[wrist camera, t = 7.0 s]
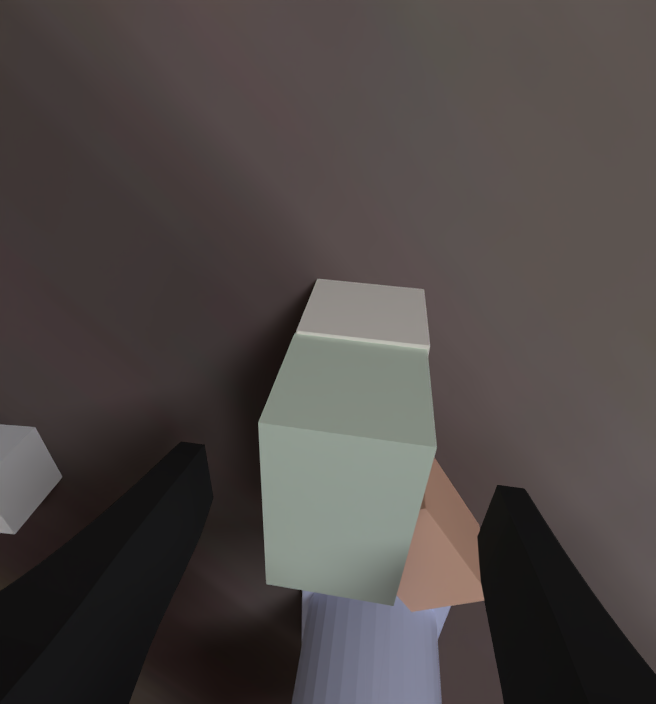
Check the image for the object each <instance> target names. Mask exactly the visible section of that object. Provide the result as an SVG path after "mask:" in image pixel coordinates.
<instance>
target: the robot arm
mask: <svg viewBox="0 0 656 704" xmlns="http://www.w3.org/2000/svg"><path fill="white" fill-rule="evenodd" d="M212 500H213V493H212V487H211V481H210V475H209V469H208V463H207V457H206V451H205V445H202V444H195V443H187V442H180V443H179V444H178V445H177V446H176V447H175V448H173V449H172V450H171V451H170V452H169V453H168V454H167V455H166V456H165V457H164V458H163V459H162V460H161V461H160V462H159V463H158V464H157V465H155V466H154V467H153V468H152V469H151V470H150V471H149V472H148V473H147V474H146V475H145V476H144V477H143V478H141V479H140V480H139V481H138V482H137V483H136V484H135V485H134V486H133V487H132V488H131V489H129V490H128V491H127V492H126V493H125V494H124V495H123V496H122V497H120V498H119V499H118V500H117V501H116V502H115V503H114V504H113V505H111V506H110V507H109V508H108V509H107V510H106V511H105V512H103V513H102V514H101V515H100V516H99V517H97V518H96V519H95V520H94V521H93V522H91V523H90V524H89V525H88V526H87V527H85V528H84V529H83V530H82V531H80V532H79V533H78V534H77V535H76V536H74V537H73V538H72V539H71V540H69V541H68V542H67V543H66V544H64V545H63V546H62V547H61V548H59V549H58V550H57V551H55V552H54V553H53V554H51V555H50V556H49V557H47V558H46V559H45V560H43V561H42V562H41V563H39V564H38V565H37V566H35V567H34V568H33V569H31V570H30V571H28V572H27V573H26V574H24V575H23V576H22V577H20V578H19V579H17V580H16V581H14V582H13V583H11V584H10V585H9V586H7V587H6V588H4V589H3V590H1V591H0V704H129V702H130V699H131V696H132V693H133V691H134V688H135V685H136V682H137V680H138V677H139V674H140V672H141V669H142V666H143V663H144V661H145V658H146V655H147V653H148V650H149V647H150V645H151V643H152V640H153V638H154V636H155V633H156V631H157V629H158V626H159V624H160V622H161V620H162V618H163V616H164V613H165V611H166V609H167V607H168V605H169V603H170V601H171V598H172V596H173V594H174V592H175V590H176V588H177V586H178V584H179V581H180V579H181V577H182V575H183V573H184V571H185V569H186V567H187V564H188V562H189V560H190V558H191V556H192V554H193V551H194V549H195V547H196V545H197V543H198V540H199V538H200V536H201V533H202V530H203V527H204V524H205V521H206V518H207V515H208V512H209V509H210V506H211V503H212ZM477 540H478V554H479V567H480V578H481V585H482V590H483V596H484V601H485V606H486V612H487V617H488V622H489V627H490V632H491V637H492V642H493V647H494V653H495V658H496V663H497V668H498V673H499V678H500V683H501V688H502V695H503V701H504V704H656V674H655V673H654V671H653V670H652V669H651V668H650V667H649V665H648V664H647V663H646V662H645V660H644V659H643V658H642V657H641V655H640V654H639V653H638V652H637V650H636V649H635V648H634V647H633V645H632V644H631V643H630V641H629V640H628V639H627V638H626V636H625V635H624V634H623V632H622V631H621V630H620V628H619V627H618V626H617V624H616V623H615V622H614V620H613V619H612V618H611V616H610V615H609V614H608V612H607V611H606V610H605V608H604V607H603V606H602V604H601V603H600V601H599V600H598V599H597V597H596V596H595V594H594V593H593V592H592V590H591V589H590V587H589V586H588V584H587V583H586V582H585V580H584V579H583V577H582V576H581V574H580V573H579V571H578V570H577V569H576V567H575V566H574V564H573V563H572V561H571V560H570V558H569V557H568V555H567V554H566V552H565V551H564V549H563V548H562V546H561V545H560V543H559V542H558V540H557V539H556V537H555V536H554V534H553V532H552V531H551V529H550V528H549V526H548V525H547V523H546V521H545V520H544V518H543V517H542V515H541V514H540V512H539V510H538V509H537V507H536V506H535V504H534V502H533V501H532V499H531V498H530V496H529V494H528V493H527V491H526V490H525V489H523V488H516V487H509V486H502V485H497V487H496V490H495V493H494V495H493V498H492V500H491V503H490V505H489V508H488V510H487V513H486V516H485V518H484V521H483V523H482V526H481V528H480V531H479V534H478V536H477ZM450 607H451V606H446V607H440V608H434V609H427V610H421V611H415V612H411V611H410V610H409V609H408V607H407V606H406V605H405V604H404V603H403V602H402V601H401V600H400V599H399V597H398V596H396V599H395V603H394V606H390V605H384V604H379V603H373V602H367V601H361V600H356V599H350V598H344V597H338V596H332V595H327V594H321V593H315V592H309V591H304V590H302V647H301V652H300V658H299V664H298V670H297V675H296V681H295V687H294V693H293V699H292V704H442V700H441V685H440V669H439V654H438V638H439V635H440V632H441V630H442V627H443V625H444V622H445V620H446V617H447V615H448V612H449V609H450Z"/></svg>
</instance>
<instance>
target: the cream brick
mask: <svg viewBox="0 0 656 704" xmlns="http://www.w3.org/2000/svg"><path fill="white" fill-rule="evenodd" d="M296 334H303V335H312V336H320V337H328V338H337V339H345V340H353V341H362V342H370V343H379V344H387V345H395V346H404V347H412V348H420V349H427V351H428V353H429V349H430V340H429V331H428V321H427V312H426V303H425V294H424V289H415V288H405V287H395V286H385V285H375V284H365V283H355V282H345V281H336V280H326V279H317V281H316V283H315V286H314V288H313V291H312V293H311V296H310V298H309V300H308V303H307V305H306V308H305V310H304V313H303V315H302V318H301V320H300V323H299V325H298V328H297V330H296Z"/></svg>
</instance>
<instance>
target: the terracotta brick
mask: <svg viewBox="0 0 656 704" xmlns="http://www.w3.org/2000/svg"><path fill="white" fill-rule="evenodd" d="M479 531H480V527H479V524H478V523H477V521H476V520H475V518H474V517H473V515H472V514H471V512H470V511H469V509H468V508H467V506H466V505H465V503H464V502H463V500H462V499H461V497H460V496H459V494H458V492H457V491H456V489H455V488H454V486H453V485H452V483H451V482H450V480H449V479H448V477H447V476H446V474H445V473H444V471H443V470H442V468H441V467H440V465H439V464H438V462H437V461H436V459H435V458H434V460H433V463H432V467H431V471H430V474H429V478H428V482H427V485H426V489H425V493H424V496H423V500H422V504H421V507H420V511H419V515H418V518H417V522H416V526H415V529H414V533H413V537H412V540H411V544H410V548H409V551H408V555H407V559H406V563H405V566H404V570H403V574H402V577H401V581H400V585H399V588H398V592H397V596H398V597H399V599H400V600H401V601H402V602H403V603H404V604H405V605H406V606H407V607H408V609H409V610H410V611H411V612H415V611H421V610H427V609H434V608H440V607H446V606H453V605H459V604H465V603H472V602H478V601H484V596H483V590H482V585H481V578H480V567H479V554H478V540H477V536H478V534H479Z"/></svg>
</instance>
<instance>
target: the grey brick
mask: <svg viewBox="0 0 656 704" xmlns="http://www.w3.org/2000/svg"><path fill="white" fill-rule="evenodd" d="M61 478H62V475H61V473H60V471H59V470H58V468H57V466H56V464H55V462H54V461H53V459H52V457H51V455H50V453H49V451H48V450H47V448H46V446H45V444H44V442H43V441H42V439H41V437H40V435H39V433H38V432H37V430H36V428H35V427H27V426H14V425H0V533H8V534H15V533H16V532H17V531H18V530H19V529H20V528H21V526H22V525H23V524H24V523H25V522H26V520H27V519H28V518H29V517H30V516H31V514H32V513H33V512H34V511H35V510H36V508H37V507H38V506H39V505H40V504H41V502H42V501H43V500H44V499H45V498H46V496H47V495H48V494H49V493H50V492H51V490H52V489H53V488H54V487H55V486H56V484H57V483H58V482H59V481H60V480H61Z"/></svg>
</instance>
